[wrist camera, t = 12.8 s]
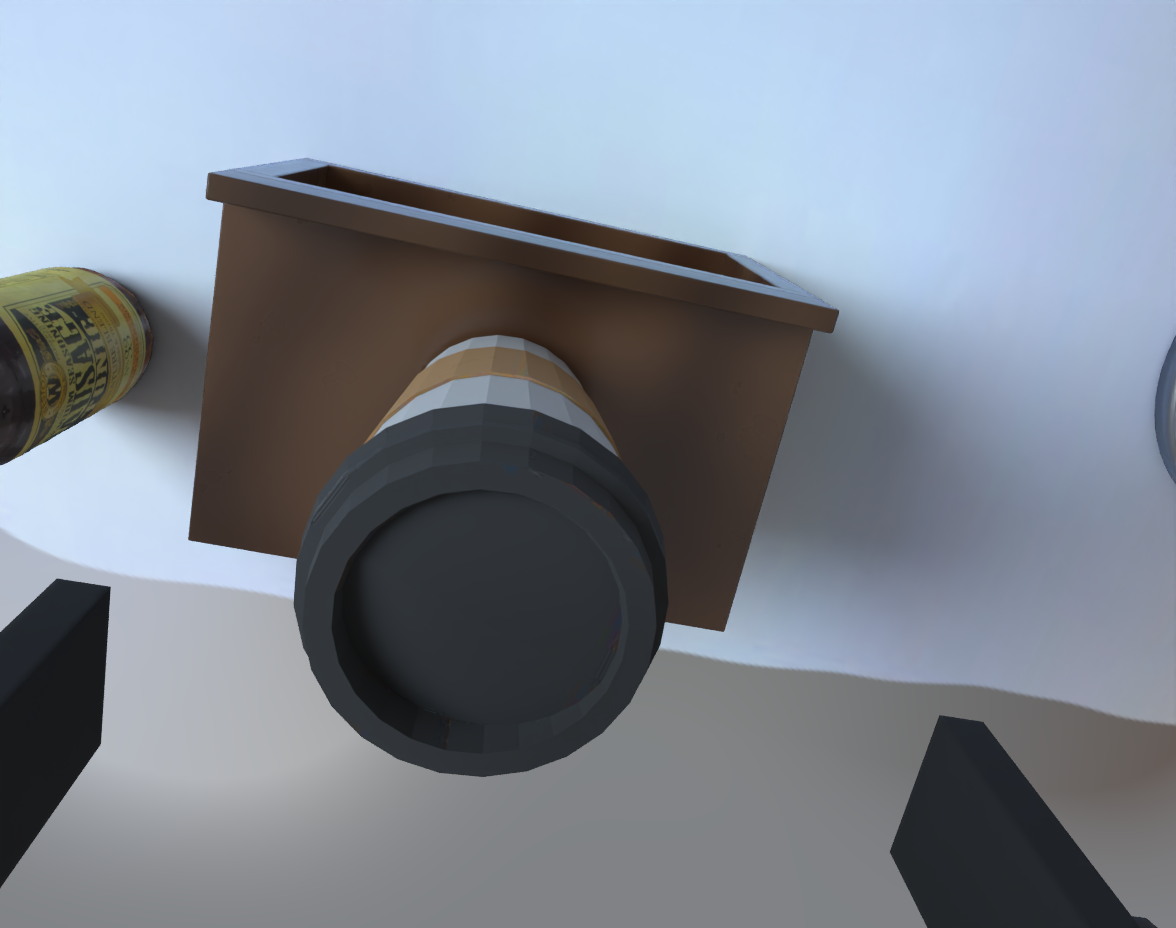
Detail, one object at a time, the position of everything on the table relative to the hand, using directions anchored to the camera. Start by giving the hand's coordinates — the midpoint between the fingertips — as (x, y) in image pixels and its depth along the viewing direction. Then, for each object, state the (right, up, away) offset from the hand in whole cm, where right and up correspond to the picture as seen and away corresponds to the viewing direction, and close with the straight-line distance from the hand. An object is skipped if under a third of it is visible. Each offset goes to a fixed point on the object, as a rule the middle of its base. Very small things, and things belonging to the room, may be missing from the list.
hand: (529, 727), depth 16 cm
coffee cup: (-2, +6, +19) cm, 20 cm away
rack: (-3, +9, +30) cm, 32 cm away
